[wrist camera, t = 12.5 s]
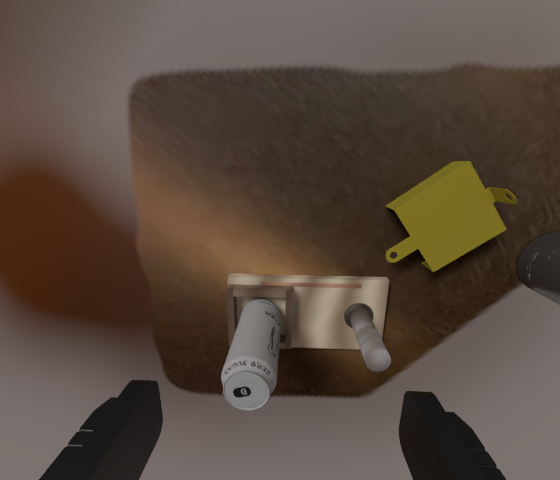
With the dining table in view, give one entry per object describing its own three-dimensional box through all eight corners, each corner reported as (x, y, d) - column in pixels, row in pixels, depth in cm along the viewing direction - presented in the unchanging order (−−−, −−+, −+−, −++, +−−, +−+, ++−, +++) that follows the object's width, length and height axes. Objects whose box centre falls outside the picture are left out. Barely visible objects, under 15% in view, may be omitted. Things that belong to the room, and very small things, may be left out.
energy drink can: (286, 325, 43) (282, 408, 29) (249, 334, 44) (228, 419, 29) (274, 291, 42) (265, 361, 27) (237, 301, 42) (208, 374, 28)
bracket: (363, 218, 32) (485, 138, 29) (349, 208, 40) (445, 143, 37) (427, 315, 35) (543, 251, 32) (403, 288, 43) (496, 234, 40)
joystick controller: (386, 277, 42) (419, 317, 31) (378, 345, 45) (405, 403, 34) (229, 273, 43) (208, 311, 32) (232, 340, 46) (214, 395, 35)
